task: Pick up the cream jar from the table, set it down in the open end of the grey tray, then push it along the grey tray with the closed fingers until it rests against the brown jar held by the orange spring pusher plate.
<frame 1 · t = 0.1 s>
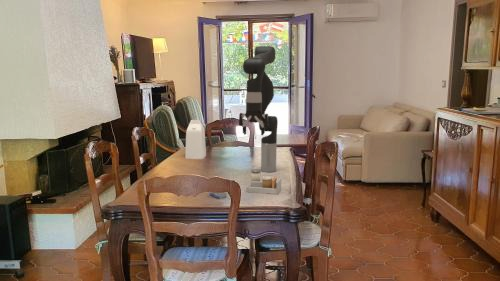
hand: (253, 134, 194), 29 cm above the table, tool pointing down, fingers open, 8 cm apart
brown jar: (267, 190, 202), resting in grey tray
cream jar: (255, 182, 215), on the table
medicine box: (218, 196, 192), on the table
pusher: (274, 184, 201), point 3 cm above the table, slide at 0.0 cm
grey tray: (263, 189, 202), on the table
milk: (195, 157, 278), on the table
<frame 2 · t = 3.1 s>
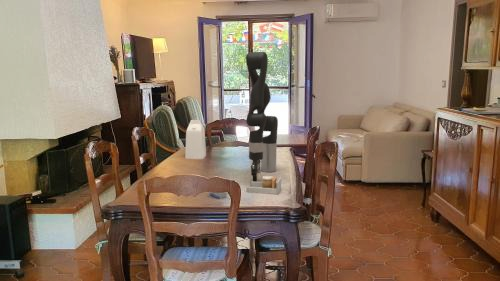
hand: (255, 181, 215), 1 cm above the table, tool pointing down, fingers closed on cream jar, 5 cm apart
cream jar: (255, 182, 215), on the table, touching gripper
everything else where it was.
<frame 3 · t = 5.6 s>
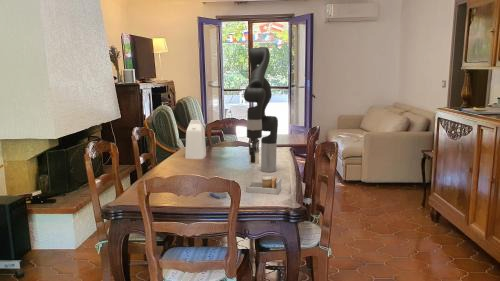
hand: (254, 161, 201), 15 cm above the table, tool pointing down, fingers closed on cream jar, 5 cm apart
cream jar: (254, 163, 201), point 14 cm above the table, touching gripper
everything else where it was.
when the fingers open (2 cm above the table, at t = 8.2 s): cream jar drops 1 cm, on the table.
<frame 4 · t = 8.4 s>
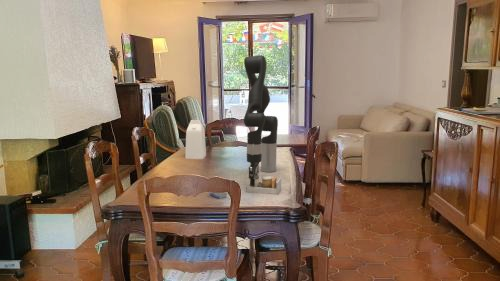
hand: (253, 183, 203), 3 cm above the table, tool pointing down, fingers open, 7 cm apart
cream jar: (253, 189, 204), on the table
everything else where it was.
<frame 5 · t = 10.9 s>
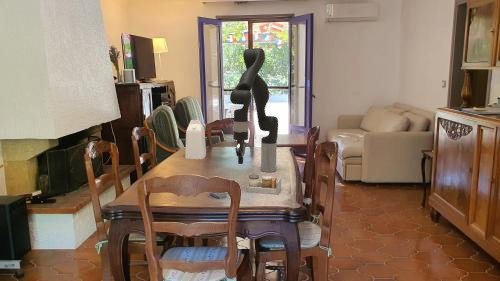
hand: (240, 163, 203), 13 cm above the table, tool pointing down, fingers closed
nothing on the table moved.
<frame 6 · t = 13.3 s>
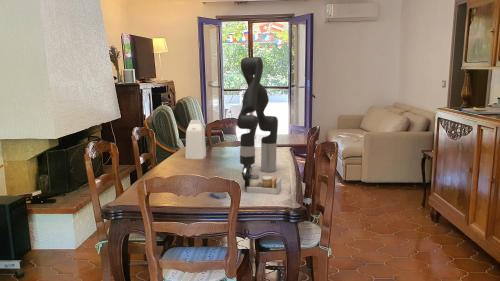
hand: (247, 187, 204), 1 cm above the table, tool pointing down, fingers closed
cream jar: (254, 189, 204), on the table, touching gripper
everything else where it was.
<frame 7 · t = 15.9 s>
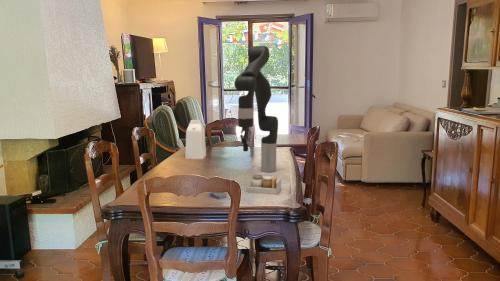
hand: (245, 151, 201), 20 cm above the table, tool pointing down, fingers closed
brown jar: (267, 190, 202), resting in grey tray, touching cream jar
cream jar: (257, 189, 203), on the table, touching brown jar
everything else where it was.
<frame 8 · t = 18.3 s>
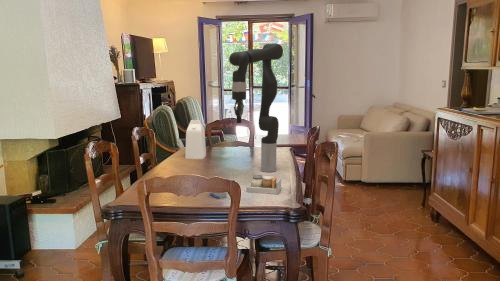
hand: (239, 123, 214), 32 cm above the table, tool pointing down, fingers closed
nothing on the table moved.
at the end: cream jar inside the target area (0.7 cm from its centre), on the table; cream jar tilted 1°; brown jar tilted 1° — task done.
